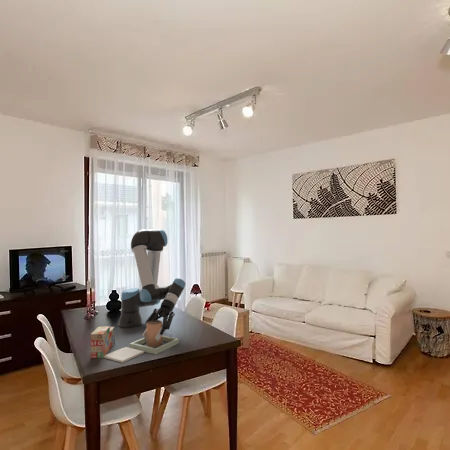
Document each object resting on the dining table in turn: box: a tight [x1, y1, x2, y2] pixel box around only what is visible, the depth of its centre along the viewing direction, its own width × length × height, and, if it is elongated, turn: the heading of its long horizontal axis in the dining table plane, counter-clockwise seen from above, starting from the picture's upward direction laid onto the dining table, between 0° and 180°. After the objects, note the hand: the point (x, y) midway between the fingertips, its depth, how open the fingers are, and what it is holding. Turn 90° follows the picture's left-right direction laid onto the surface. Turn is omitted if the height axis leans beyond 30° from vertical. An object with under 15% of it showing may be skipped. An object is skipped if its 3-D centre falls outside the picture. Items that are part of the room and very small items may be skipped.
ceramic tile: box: [103, 346, 145, 364], centre depth 165 cm, size 13×14×1 cm
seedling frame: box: [129, 335, 179, 355], centre depth 179 cm, size 18×18×2 cm
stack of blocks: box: [90, 325, 116, 359], centre depth 173 cm, size 21×6×12 cm, turn 4°
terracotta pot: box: [146, 319, 163, 348], centre depth 179 cm, size 8×8×12 cm
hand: (150, 338), depth 176 cm, fingers closed on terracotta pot, 8 cm apart
